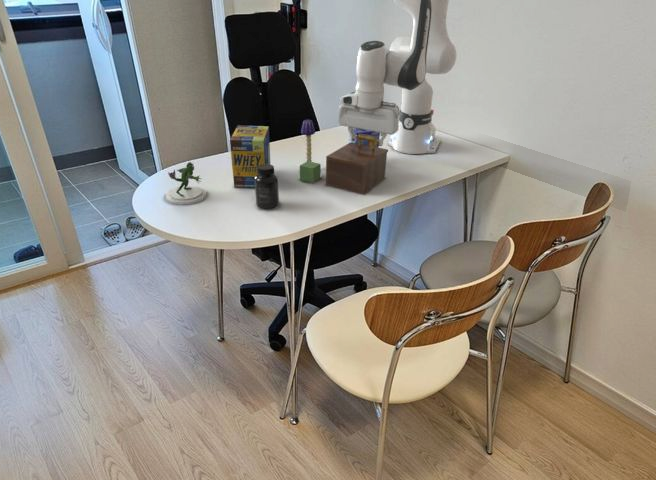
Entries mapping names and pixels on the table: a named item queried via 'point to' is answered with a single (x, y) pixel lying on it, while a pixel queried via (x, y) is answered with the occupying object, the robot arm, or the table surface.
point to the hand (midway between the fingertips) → (366, 143)
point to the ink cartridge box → (366, 134)
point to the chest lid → (358, 152)
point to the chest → (355, 175)
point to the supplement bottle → (266, 187)
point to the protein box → (249, 153)
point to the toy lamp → (308, 136)
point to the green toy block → (310, 171)
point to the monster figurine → (185, 188)
